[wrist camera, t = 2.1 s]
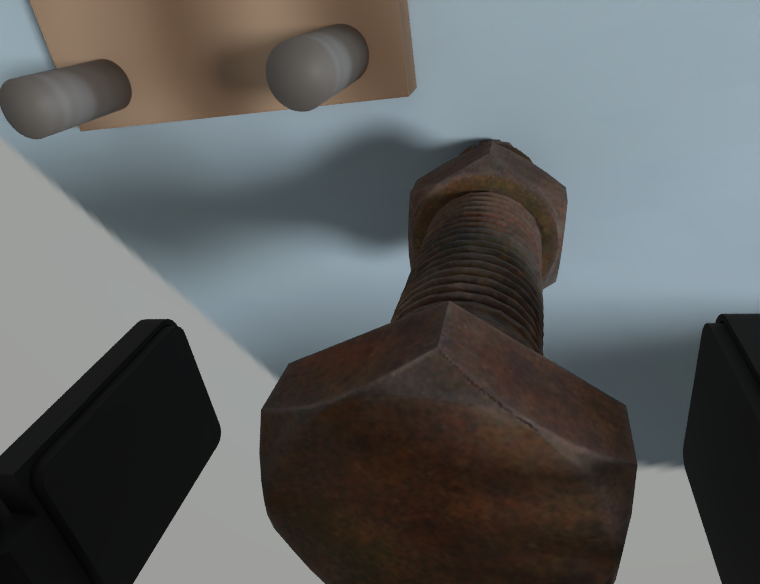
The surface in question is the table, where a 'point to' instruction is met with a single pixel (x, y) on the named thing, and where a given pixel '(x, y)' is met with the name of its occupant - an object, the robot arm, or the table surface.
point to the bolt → (455, 410)
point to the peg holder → (207, 60)
